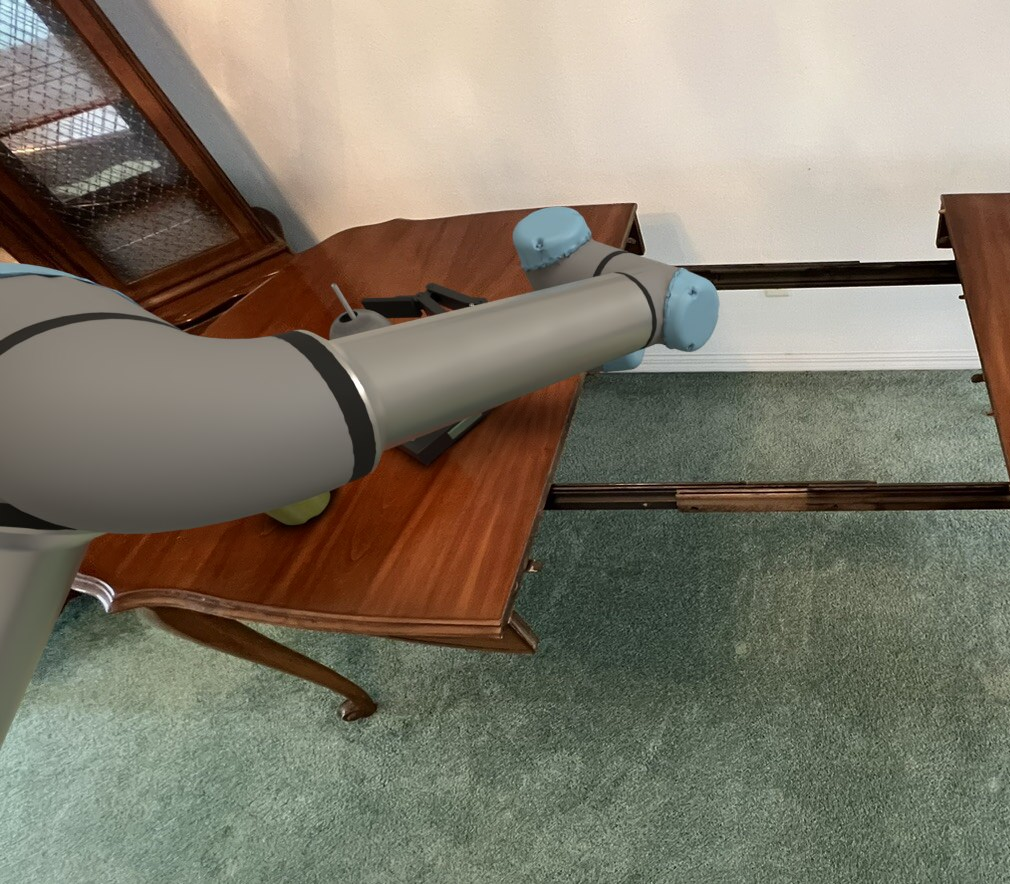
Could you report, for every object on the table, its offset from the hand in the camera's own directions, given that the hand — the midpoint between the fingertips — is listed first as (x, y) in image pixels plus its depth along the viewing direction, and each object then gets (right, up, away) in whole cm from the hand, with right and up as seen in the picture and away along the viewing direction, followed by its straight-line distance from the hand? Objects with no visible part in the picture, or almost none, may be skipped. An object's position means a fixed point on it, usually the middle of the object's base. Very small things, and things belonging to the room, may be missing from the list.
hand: (342, 344), depth 81 cm
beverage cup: (+4, -7, +9) cm, 12 cm away
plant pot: (-7, -20, +3) cm, 21 cm away
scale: (+4, -7, +12) cm, 15 cm away
